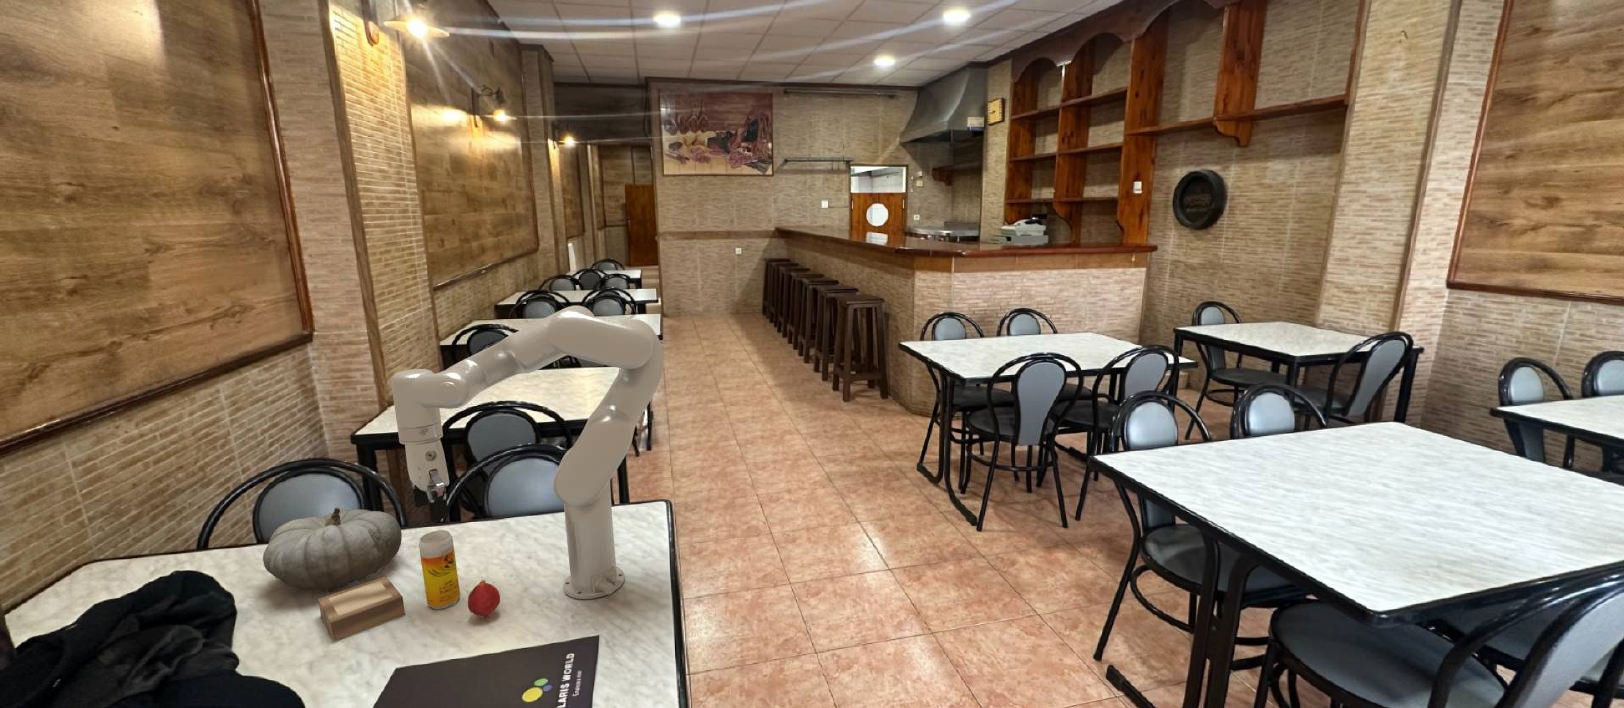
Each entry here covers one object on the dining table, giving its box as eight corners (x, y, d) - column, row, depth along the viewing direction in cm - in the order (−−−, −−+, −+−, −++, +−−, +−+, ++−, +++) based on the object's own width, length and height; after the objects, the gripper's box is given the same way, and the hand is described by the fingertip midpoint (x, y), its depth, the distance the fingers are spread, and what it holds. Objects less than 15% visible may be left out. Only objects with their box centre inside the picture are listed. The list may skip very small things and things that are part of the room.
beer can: (446, 611, 136) (436, 544, 133) (420, 609, 137) (410, 541, 134) (467, 595, 142) (458, 530, 139) (442, 593, 143) (433, 528, 140)
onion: (470, 628, 130) (465, 591, 128) (469, 613, 135) (465, 577, 133) (502, 619, 133) (498, 583, 131) (501, 605, 138) (496, 570, 136)
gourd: (333, 605, 134) (316, 522, 133) (239, 612, 140) (222, 532, 139) (430, 557, 158) (416, 486, 157) (346, 564, 164) (332, 496, 163)
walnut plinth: (405, 614, 135) (402, 596, 134) (334, 641, 127) (331, 622, 126) (388, 592, 143) (385, 575, 142) (321, 616, 135) (317, 598, 134)
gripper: (456, 436, 129) (466, 518, 132) (427, 419, 141) (437, 495, 144) (412, 446, 123) (424, 531, 127) (386, 427, 135) (398, 505, 139)
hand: (431, 512), depth 135 cm, fingers open, 9 cm apart
